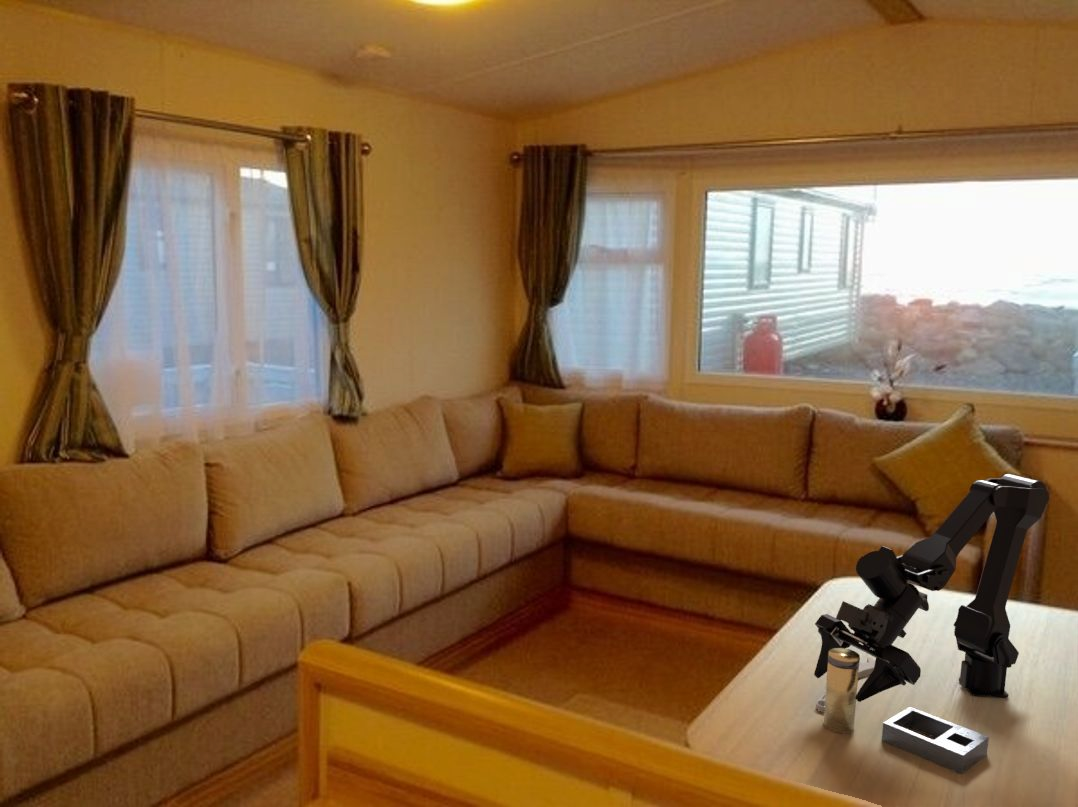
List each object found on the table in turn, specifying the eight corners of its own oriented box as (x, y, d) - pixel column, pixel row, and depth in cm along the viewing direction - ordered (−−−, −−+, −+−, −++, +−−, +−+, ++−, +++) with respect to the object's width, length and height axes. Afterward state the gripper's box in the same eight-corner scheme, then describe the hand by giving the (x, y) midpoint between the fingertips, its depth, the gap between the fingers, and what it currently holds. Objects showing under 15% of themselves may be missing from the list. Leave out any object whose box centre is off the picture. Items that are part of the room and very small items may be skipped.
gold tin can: (849, 719, 154) (855, 648, 152) (857, 734, 149) (863, 661, 148) (819, 718, 155) (825, 647, 153) (827, 732, 150) (832, 659, 148)
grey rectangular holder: (986, 755, 144) (988, 737, 143) (961, 774, 138) (963, 755, 138) (908, 723, 153) (910, 706, 153) (881, 740, 148) (883, 722, 147)
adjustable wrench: (828, 717, 156) (829, 707, 156) (792, 705, 160) (793, 696, 160) (880, 669, 175) (881, 660, 175) (847, 660, 179) (848, 651, 179)
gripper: (827, 568, 159) (772, 639, 155) (914, 604, 142) (855, 684, 139) (857, 605, 163) (805, 675, 160) (945, 645, 147) (889, 723, 143)
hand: (836, 688), depth 150 cm, fingers open, 9 cm apart
